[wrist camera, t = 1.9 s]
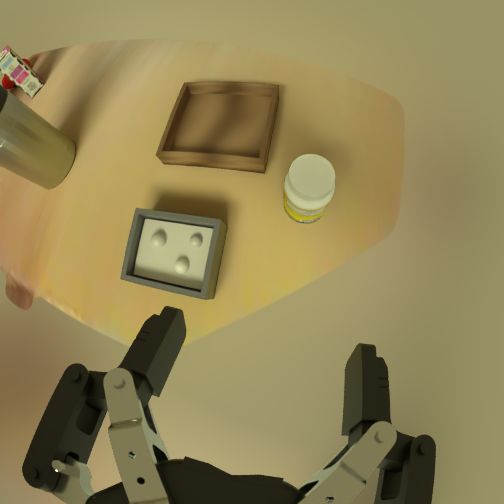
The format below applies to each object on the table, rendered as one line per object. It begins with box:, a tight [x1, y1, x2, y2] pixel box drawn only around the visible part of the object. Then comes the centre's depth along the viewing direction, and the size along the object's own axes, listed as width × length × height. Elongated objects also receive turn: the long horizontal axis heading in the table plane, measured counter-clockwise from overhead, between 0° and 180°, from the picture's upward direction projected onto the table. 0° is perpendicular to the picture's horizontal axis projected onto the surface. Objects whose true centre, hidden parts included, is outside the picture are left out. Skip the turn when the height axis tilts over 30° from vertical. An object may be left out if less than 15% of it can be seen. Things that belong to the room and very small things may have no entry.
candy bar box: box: [0, 46, 44, 98], centre depth 33 cm, size 11×5×16 cm, turn 46°
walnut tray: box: [156, 82, 279, 174], centre depth 31 cm, size 13×12×3 cm
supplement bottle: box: [284, 154, 335, 224], centre depth 26 cm, size 5×5×8 cm
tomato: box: [2, 59, 30, 89], centre depth 41 cm, size 10×11×6 cm
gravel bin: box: [120, 208, 228, 300], centre depth 29 cm, size 10×8×4 cm
